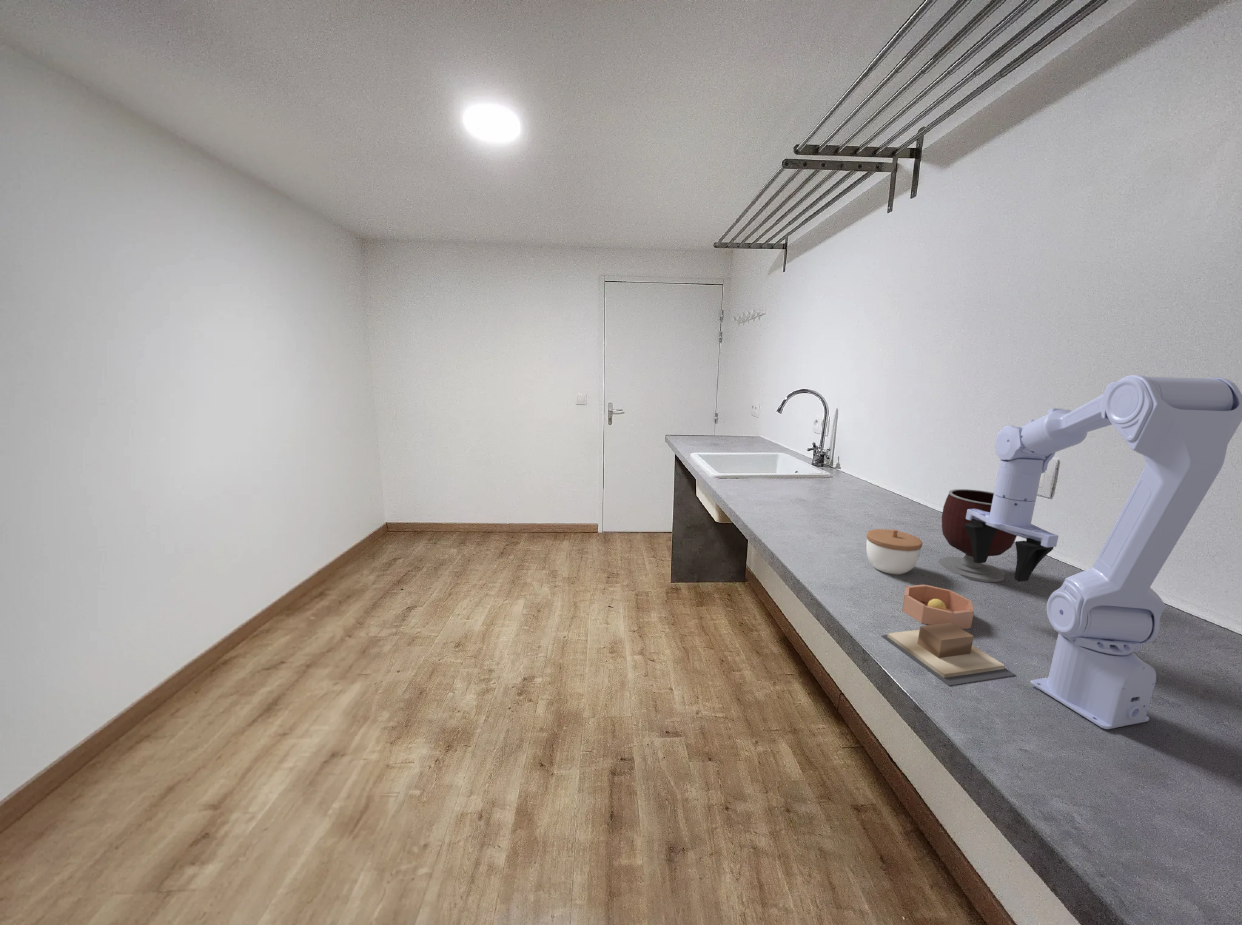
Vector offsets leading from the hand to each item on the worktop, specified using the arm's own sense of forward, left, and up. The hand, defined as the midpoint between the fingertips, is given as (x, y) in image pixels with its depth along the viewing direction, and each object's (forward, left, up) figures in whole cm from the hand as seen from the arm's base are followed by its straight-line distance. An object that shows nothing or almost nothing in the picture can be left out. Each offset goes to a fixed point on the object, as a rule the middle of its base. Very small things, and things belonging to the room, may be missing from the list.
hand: (999, 570), depth 88 cm
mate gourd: (+18, -17, -10) cm, 27 cm away
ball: (+3, +9, -9) cm, 13 cm away
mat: (-8, +18, -9) cm, 22 cm away
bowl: (+3, +9, -9) cm, 13 cm away
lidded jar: (+22, +2, -10) cm, 24 cm away
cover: (-8, +18, -9) cm, 22 cm away
